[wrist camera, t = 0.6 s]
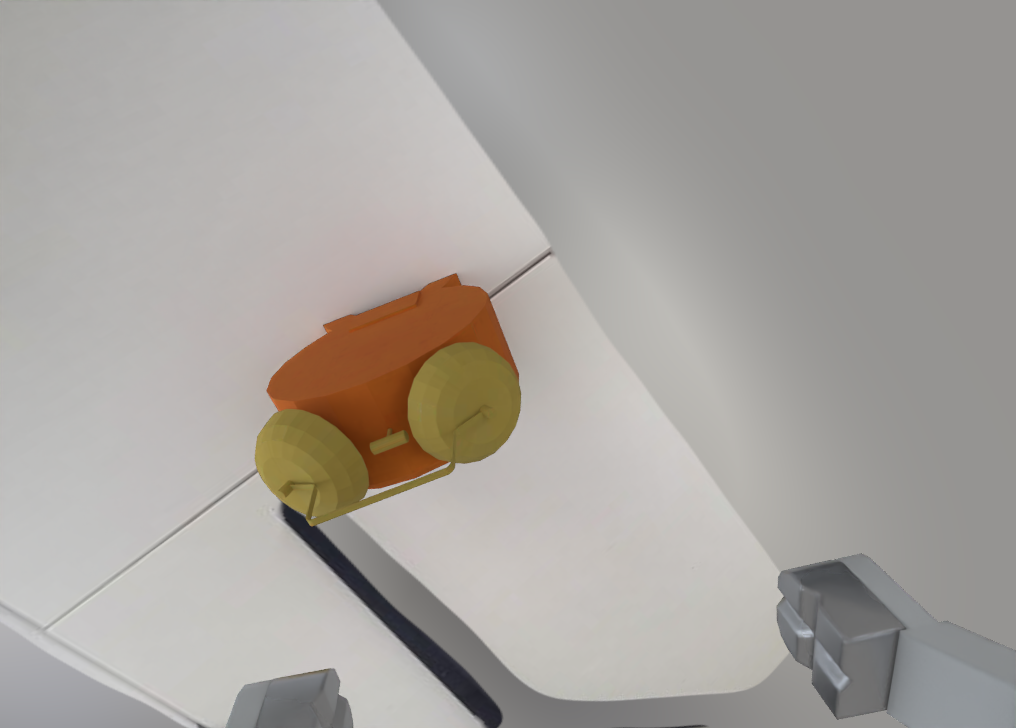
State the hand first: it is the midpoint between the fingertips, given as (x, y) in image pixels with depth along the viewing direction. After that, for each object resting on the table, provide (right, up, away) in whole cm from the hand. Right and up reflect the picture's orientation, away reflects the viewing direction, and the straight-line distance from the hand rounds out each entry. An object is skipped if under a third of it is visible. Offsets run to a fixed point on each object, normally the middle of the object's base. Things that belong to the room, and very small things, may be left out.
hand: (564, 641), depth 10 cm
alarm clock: (-8, +7, +30) cm, 32 cm away
